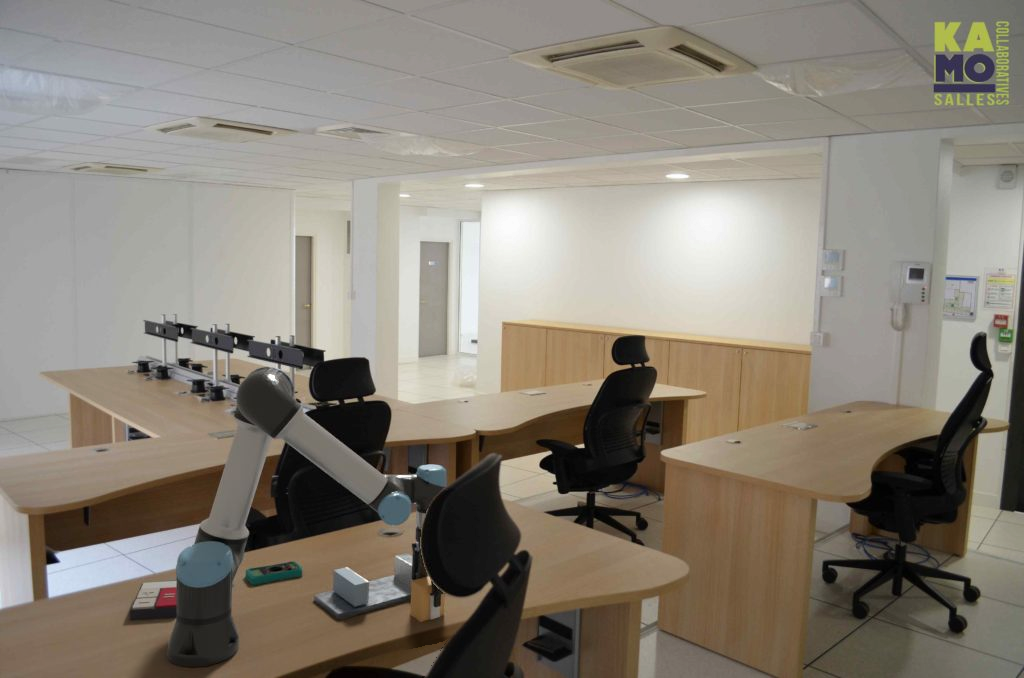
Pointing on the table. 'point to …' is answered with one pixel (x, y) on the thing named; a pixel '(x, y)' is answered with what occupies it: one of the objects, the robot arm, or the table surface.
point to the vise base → (374, 592)
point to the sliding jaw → (351, 586)
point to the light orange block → (423, 599)
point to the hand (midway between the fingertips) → (428, 613)
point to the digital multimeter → (273, 572)
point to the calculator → (155, 601)
